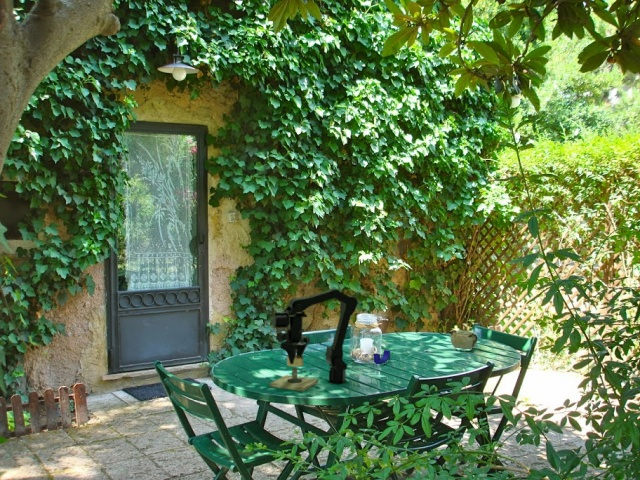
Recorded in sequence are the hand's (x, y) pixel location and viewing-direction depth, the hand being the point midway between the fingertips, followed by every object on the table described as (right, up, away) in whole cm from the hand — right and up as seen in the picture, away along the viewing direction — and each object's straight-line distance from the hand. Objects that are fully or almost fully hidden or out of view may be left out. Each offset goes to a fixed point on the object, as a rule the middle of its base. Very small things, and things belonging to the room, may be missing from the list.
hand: (295, 362), depth 280 cm
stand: (0, -10, 0) cm, 10 cm away
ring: (0, -1, 0) cm, 1 cm away
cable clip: (+43, -10, +46) cm, 64 cm away
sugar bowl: (+94, -10, +85) cm, 126 cm away
